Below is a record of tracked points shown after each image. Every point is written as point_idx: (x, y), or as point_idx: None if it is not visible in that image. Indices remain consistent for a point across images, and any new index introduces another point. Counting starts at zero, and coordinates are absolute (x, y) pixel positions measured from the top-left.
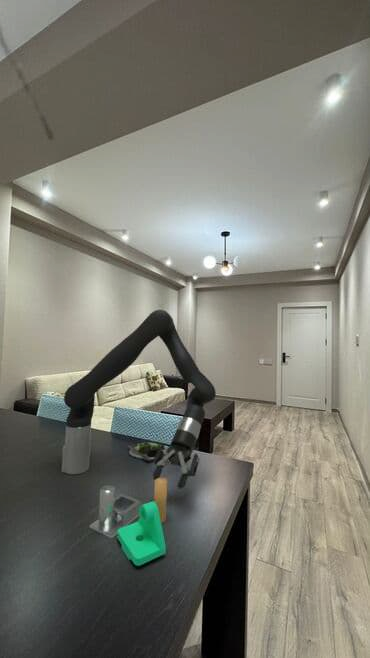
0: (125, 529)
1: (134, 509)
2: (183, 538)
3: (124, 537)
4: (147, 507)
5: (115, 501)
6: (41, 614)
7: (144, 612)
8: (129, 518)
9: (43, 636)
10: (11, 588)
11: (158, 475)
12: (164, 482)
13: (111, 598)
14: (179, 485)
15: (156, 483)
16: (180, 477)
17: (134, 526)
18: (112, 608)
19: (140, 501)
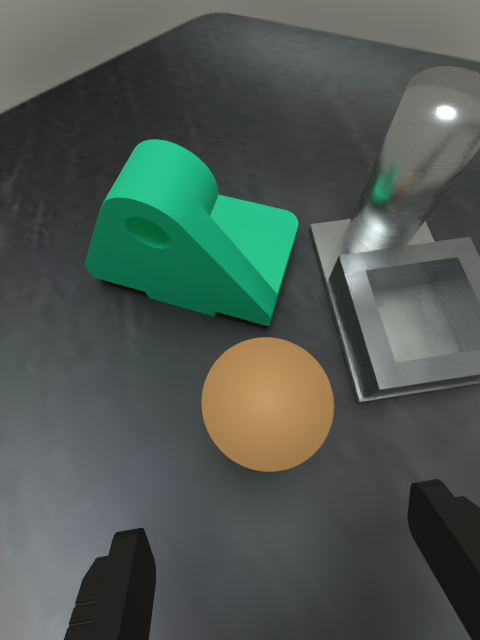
0: (276, 235)
1: (357, 334)
2: (89, 401)
3: (243, 208)
4: (141, 151)
5: (475, 302)
6: (228, 49)
7: (53, 147)
8: (340, 310)
9: (186, 40)
10: (331, 39)
11: (441, 558)
12: (216, 396)
13: (141, 127)
14: (115, 536)
15: (270, 340)
16: (119, 630)
17: (263, 266)
18: (121, 118)
19: (382, 384)
